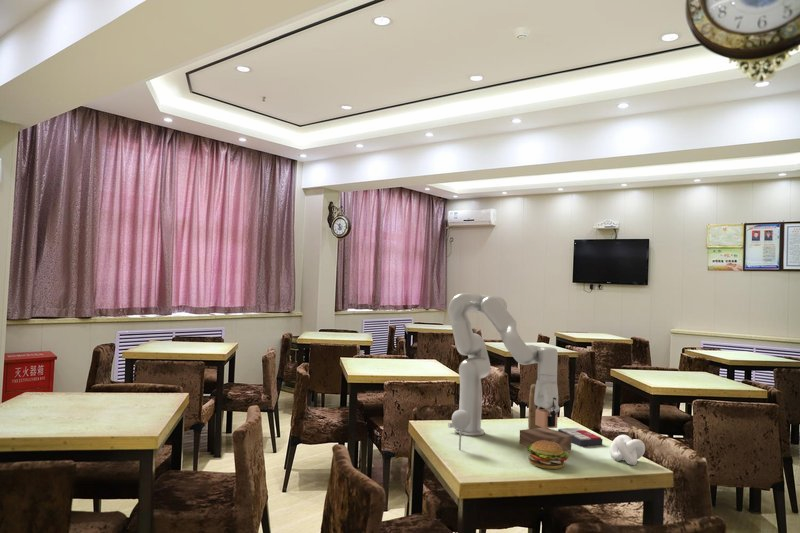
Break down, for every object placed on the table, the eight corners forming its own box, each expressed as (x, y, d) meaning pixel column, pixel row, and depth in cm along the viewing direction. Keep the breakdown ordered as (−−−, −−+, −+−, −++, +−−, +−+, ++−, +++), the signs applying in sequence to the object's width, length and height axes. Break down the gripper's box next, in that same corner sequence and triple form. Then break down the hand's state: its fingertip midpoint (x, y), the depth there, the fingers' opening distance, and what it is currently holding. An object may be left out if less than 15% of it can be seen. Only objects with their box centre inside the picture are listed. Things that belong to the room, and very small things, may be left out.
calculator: (581, 438, 208) (557, 427, 222) (580, 449, 208) (557, 437, 222) (603, 437, 212) (578, 426, 226) (602, 447, 212) (577, 436, 226)
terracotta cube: (544, 428, 201) (544, 412, 201) (535, 424, 207) (535, 409, 207) (557, 427, 203) (557, 412, 203) (547, 424, 209) (548, 409, 209)
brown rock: (545, 433, 227) (546, 387, 229) (527, 431, 229) (529, 385, 231) (544, 427, 238) (546, 383, 239) (528, 425, 240) (529, 382, 241)
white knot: (600, 458, 193) (601, 434, 194) (622, 455, 199) (622, 431, 200) (627, 467, 184) (627, 442, 184) (648, 464, 189) (649, 439, 190)
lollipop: (458, 446, 200) (460, 406, 201) (473, 450, 195) (474, 410, 196) (446, 449, 195) (448, 409, 196) (461, 453, 190) (462, 412, 191)
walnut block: (545, 455, 195) (546, 439, 195) (519, 445, 207) (519, 430, 207) (571, 451, 202) (571, 435, 202) (544, 441, 214) (544, 427, 214)
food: (576, 469, 179) (577, 446, 179) (540, 471, 175) (541, 447, 175) (553, 457, 192) (554, 435, 192) (520, 459, 188) (520, 436, 188)
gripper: (526, 375, 213) (525, 419, 212) (552, 382, 197) (551, 430, 196) (542, 375, 215) (541, 419, 214) (569, 382, 199) (567, 429, 198)
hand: (546, 424), depth 205 cm, fingers closed on terracotta cube, 6 cm apart
